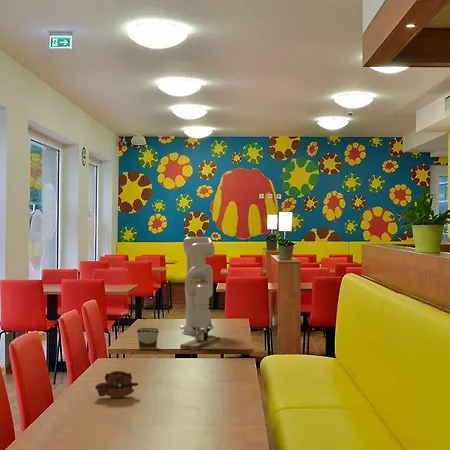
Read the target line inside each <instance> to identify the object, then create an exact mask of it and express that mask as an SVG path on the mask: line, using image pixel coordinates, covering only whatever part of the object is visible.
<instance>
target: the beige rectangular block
mask: <svg viewBox="0 0 450 450" xmlns="http://www.w3.org/2000/svg"><path fill="white" fill-rule="evenodd" d="M204 333H205V330H204V328H201V329H200V330H198V331H196V335H195V339H196V341H204ZM207 339H208V338H207Z"/></svg>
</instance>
